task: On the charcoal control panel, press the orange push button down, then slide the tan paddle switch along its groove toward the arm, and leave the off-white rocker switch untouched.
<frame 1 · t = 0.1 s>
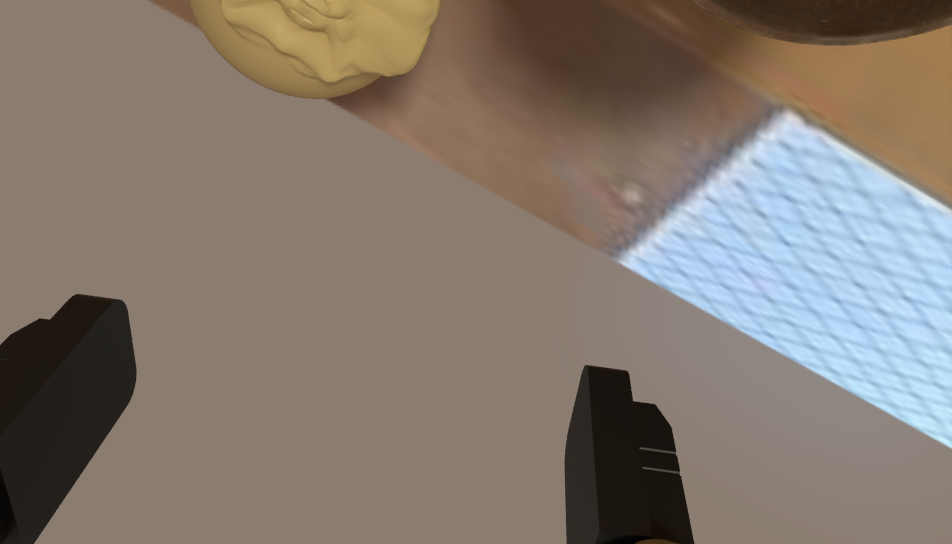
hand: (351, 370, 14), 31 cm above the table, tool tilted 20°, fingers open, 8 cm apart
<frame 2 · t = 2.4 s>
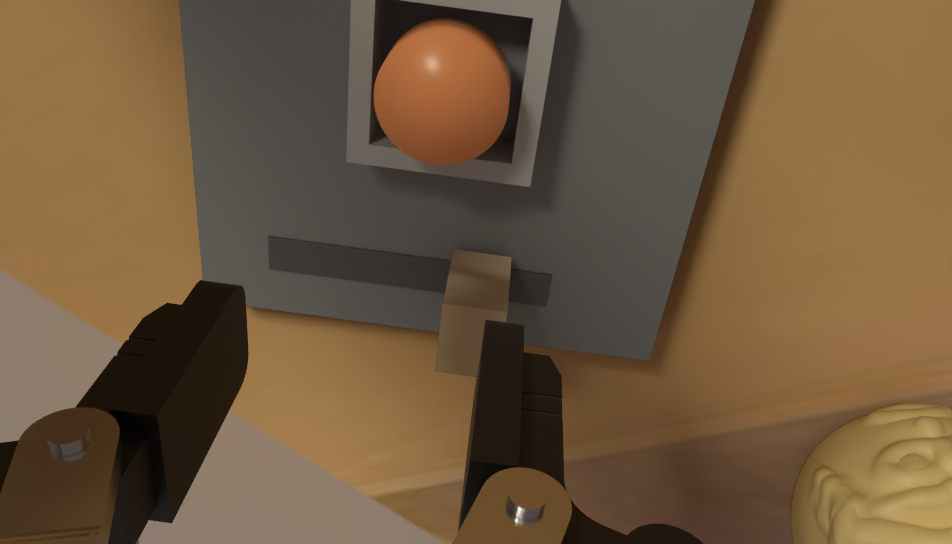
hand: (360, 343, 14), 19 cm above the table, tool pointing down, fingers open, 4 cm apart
control panel: (459, 47, 31), on the table
sculpture: (886, 456, 41), on the table
slide paddle: (474, 312, 31), point 5 cm above the table, slide at 0.0 cm
push button: (444, 92, 26), point 5 cm above the table, slide at 0.0 cm
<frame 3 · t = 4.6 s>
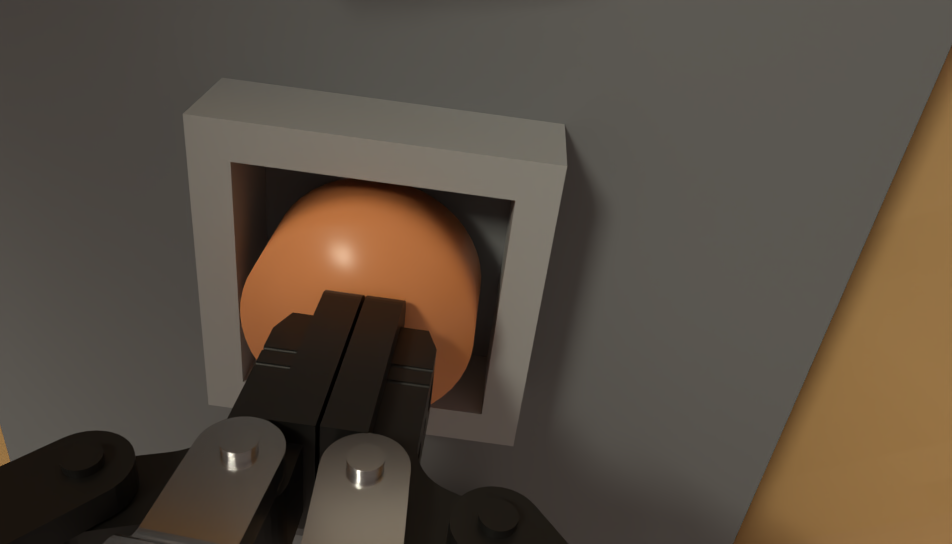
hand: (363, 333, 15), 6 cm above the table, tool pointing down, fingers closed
control panel: (401, 197, 19), on the table
push button: (366, 300, 16), point 5 cm above the table, slide at 0.8 cm, touching gripper
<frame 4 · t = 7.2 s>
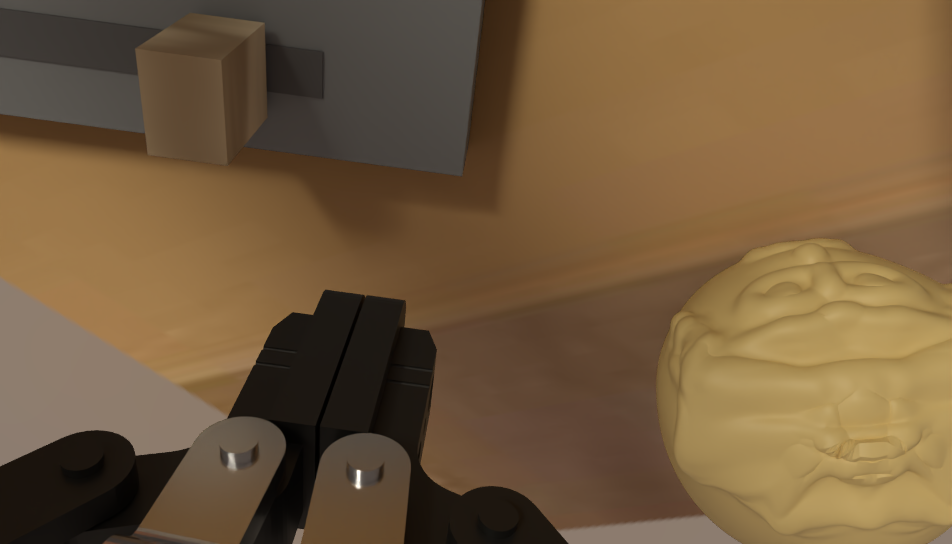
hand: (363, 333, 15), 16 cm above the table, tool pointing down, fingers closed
sculpture: (780, 320, 33), on the table
slide paddle: (208, 86, 24), point 5 cm above the table, slide at 0.0 cm
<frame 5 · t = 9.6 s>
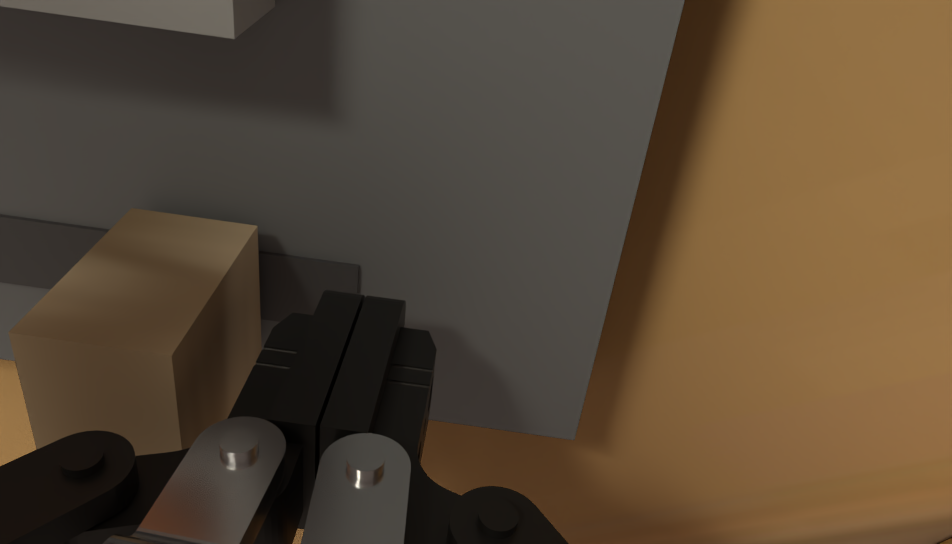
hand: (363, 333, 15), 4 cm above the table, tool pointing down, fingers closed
slide paddle: (158, 348, 14), point 5 cm above the table, slide at 0.1 cm, touching gripper
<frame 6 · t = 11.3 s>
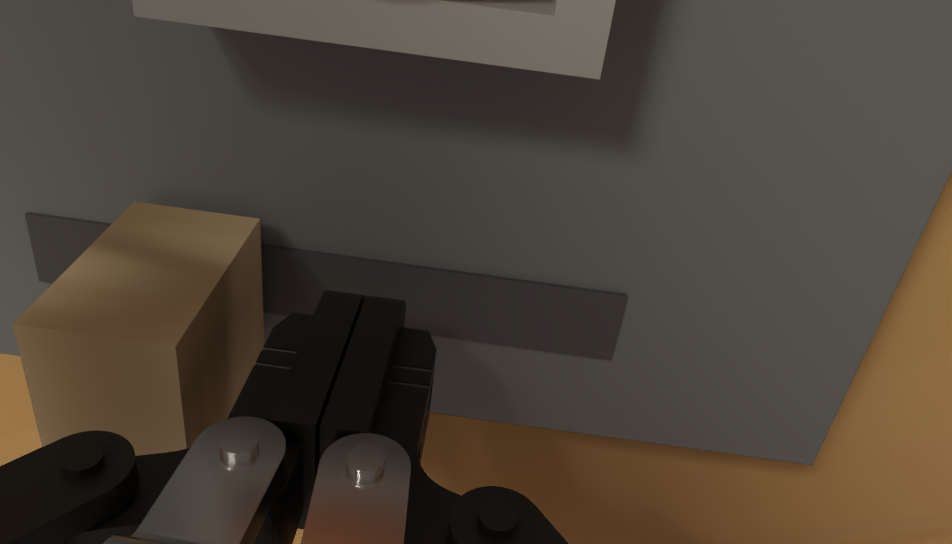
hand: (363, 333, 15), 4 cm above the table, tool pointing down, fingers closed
slide paddle: (161, 340, 14), point 5 cm above the table, slide at 5.4 cm, touching gripper
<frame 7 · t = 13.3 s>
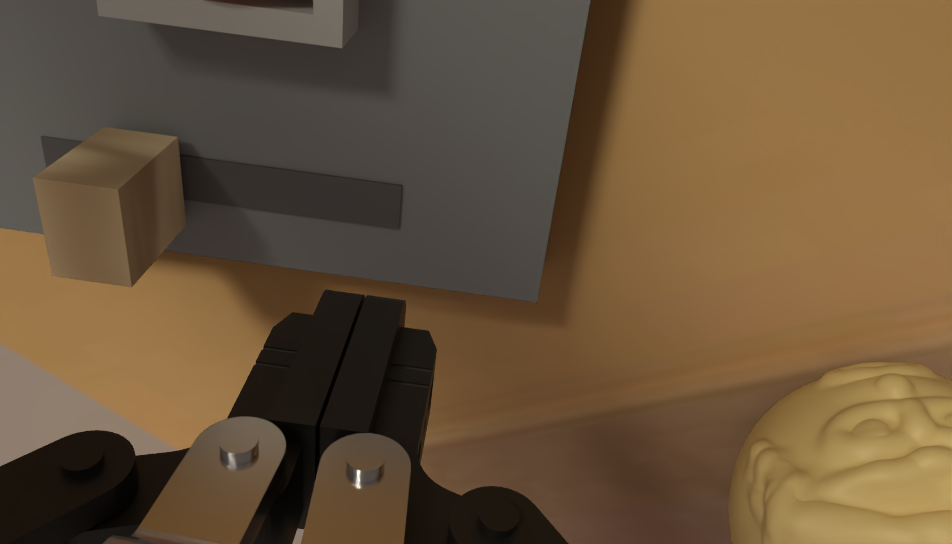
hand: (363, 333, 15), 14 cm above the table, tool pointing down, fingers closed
sculpture: (851, 432, 33), on the table
slide paddle: (117, 203, 24), point 5 cm above the table, slide at 5.4 cm
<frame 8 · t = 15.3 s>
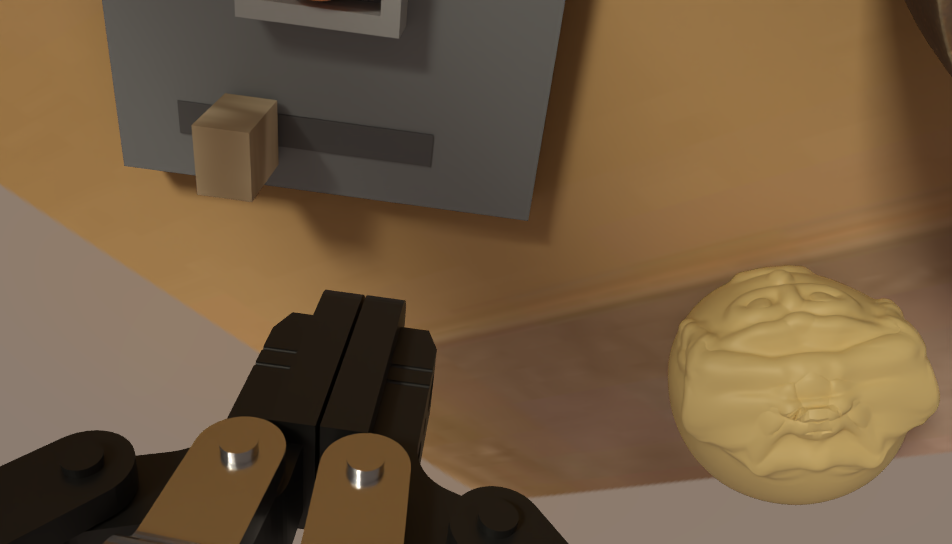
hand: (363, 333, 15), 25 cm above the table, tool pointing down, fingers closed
sculpture: (761, 325, 44), on the table
slide paddle: (238, 146, 35), point 5 cm above the table, slide at 5.4 cm
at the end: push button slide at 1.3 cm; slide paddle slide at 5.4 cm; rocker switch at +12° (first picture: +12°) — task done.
